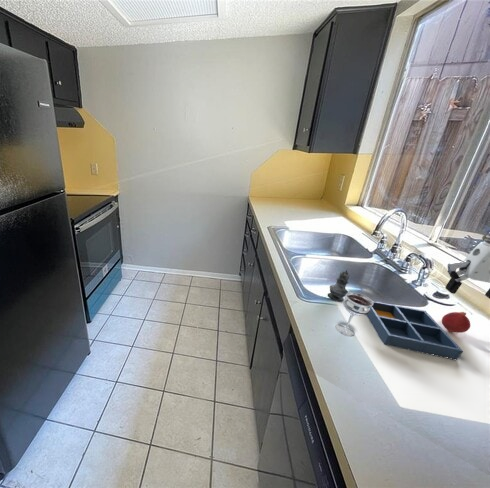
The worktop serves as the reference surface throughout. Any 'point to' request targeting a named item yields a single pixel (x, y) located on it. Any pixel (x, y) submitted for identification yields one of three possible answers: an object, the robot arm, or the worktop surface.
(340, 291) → the dark grey statuette
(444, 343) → the grid
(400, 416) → the worktop surface
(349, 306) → the wineglass
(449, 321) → the onion
